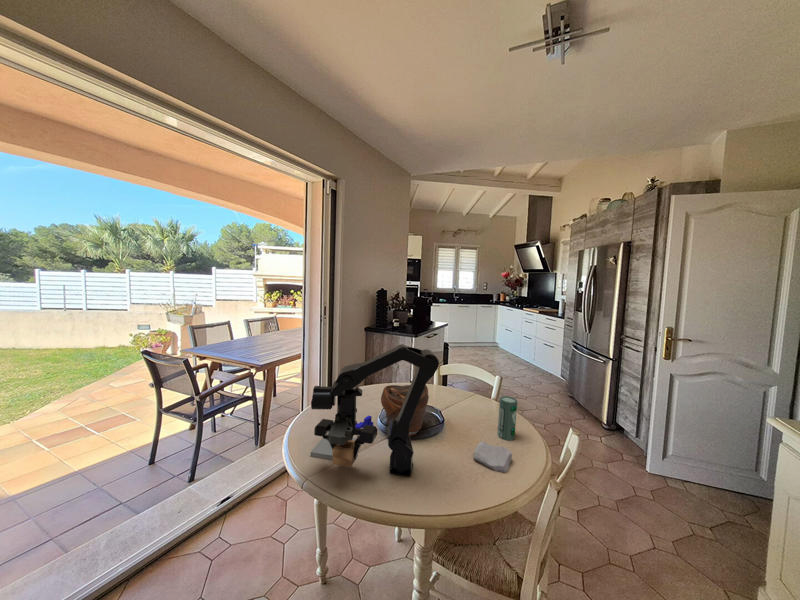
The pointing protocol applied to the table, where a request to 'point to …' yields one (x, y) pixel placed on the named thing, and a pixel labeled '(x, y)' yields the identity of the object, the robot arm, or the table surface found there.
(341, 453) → the wooden hollow block
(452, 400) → the table surface
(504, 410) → the can
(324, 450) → the post stand
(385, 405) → the brown pot
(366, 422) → the blue curved bracket
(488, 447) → the stone block
